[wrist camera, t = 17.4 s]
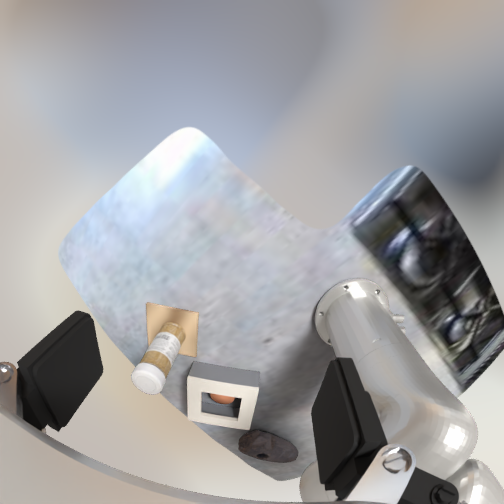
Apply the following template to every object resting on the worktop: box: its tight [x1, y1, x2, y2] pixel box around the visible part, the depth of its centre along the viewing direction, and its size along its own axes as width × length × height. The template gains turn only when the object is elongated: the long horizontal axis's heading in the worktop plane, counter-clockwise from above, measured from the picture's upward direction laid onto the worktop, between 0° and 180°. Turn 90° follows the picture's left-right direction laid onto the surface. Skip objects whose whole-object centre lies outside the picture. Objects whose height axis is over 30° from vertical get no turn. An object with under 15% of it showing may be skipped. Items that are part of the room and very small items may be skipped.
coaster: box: [146, 302, 199, 357], centre depth 44 cm, size 9×9×1 cm
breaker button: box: [210, 393, 235, 404], centre depth 46 cm, size 5×5×2 cm
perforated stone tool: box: [238, 430, 298, 463], centre depth 48 cm, size 15×5×7 cm, turn 55°
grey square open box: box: [187, 361, 260, 430], centre depth 45 cm, size 12×12×5 cm
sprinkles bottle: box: [131, 322, 186, 395], centre depth 37 cm, size 5×5×13 cm
